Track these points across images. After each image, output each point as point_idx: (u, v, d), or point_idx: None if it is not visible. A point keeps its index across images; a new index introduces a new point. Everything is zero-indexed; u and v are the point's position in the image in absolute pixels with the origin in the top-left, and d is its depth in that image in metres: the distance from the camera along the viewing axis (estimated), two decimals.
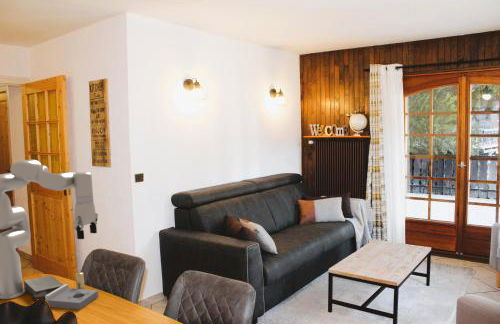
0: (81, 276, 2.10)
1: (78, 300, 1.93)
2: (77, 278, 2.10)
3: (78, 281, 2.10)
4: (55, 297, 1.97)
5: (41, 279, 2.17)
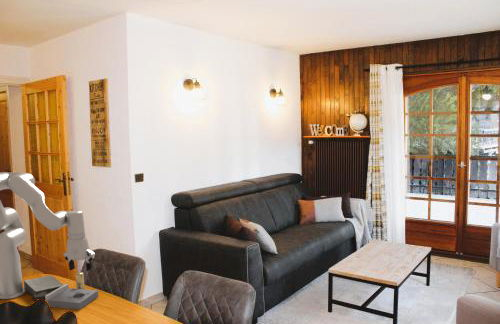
0: (81, 276, 2.10)
1: (78, 300, 1.93)
2: (77, 278, 2.10)
3: (78, 281, 2.10)
4: (55, 297, 1.97)
5: (41, 279, 2.17)
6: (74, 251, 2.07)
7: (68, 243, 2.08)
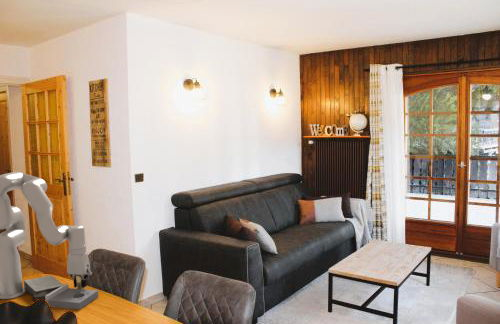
0: None
1: (78, 300, 1.93)
2: (77, 278, 2.10)
3: (78, 281, 2.10)
4: (55, 297, 1.97)
5: (41, 279, 2.17)
6: (74, 266, 2.08)
7: (69, 258, 2.09)
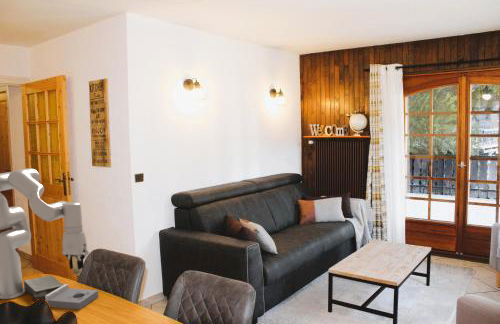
0: (77, 256, 1.96)
1: (78, 300, 1.93)
2: (73, 259, 1.95)
3: (74, 262, 1.95)
4: (55, 297, 1.97)
5: (41, 279, 2.17)
6: (70, 246, 1.94)
7: (64, 237, 1.94)
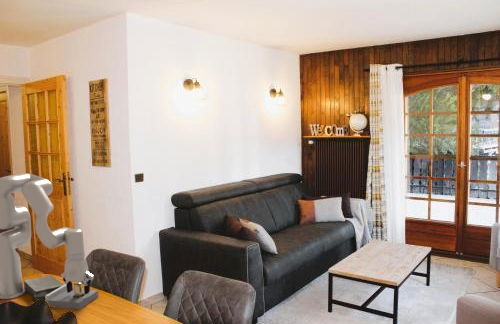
0: (79, 286, 1.97)
1: (78, 300, 1.93)
2: (75, 288, 1.97)
3: (76, 291, 1.97)
4: (55, 297, 1.97)
5: (41, 279, 2.17)
6: (72, 272, 1.95)
7: (66, 264, 1.95)
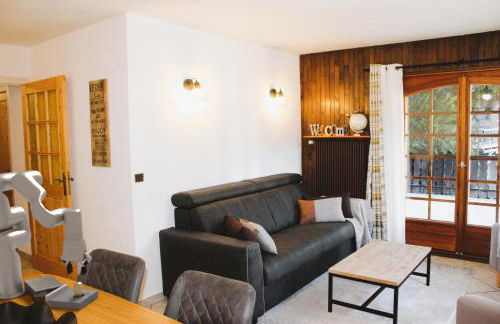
0: (79, 286, 1.97)
1: (78, 300, 1.93)
2: (75, 288, 1.97)
3: (76, 291, 1.97)
4: (55, 297, 1.97)
5: (41, 279, 2.17)
6: (71, 252, 1.94)
7: (64, 243, 1.94)
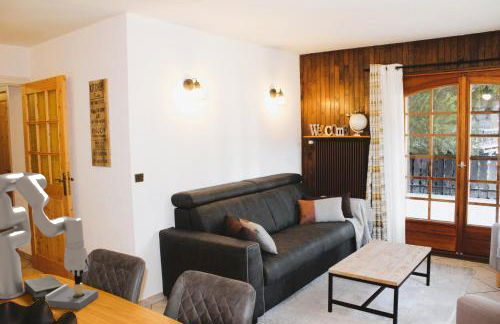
0: (80, 286, 1.97)
1: (78, 300, 1.93)
2: (76, 288, 1.97)
3: (77, 291, 1.97)
4: (55, 297, 1.97)
5: (41, 279, 2.17)
6: (72, 261, 1.94)
7: (66, 252, 1.95)
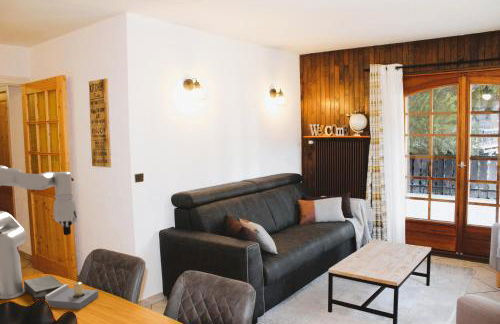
0: (80, 286, 1.97)
1: (78, 300, 1.93)
2: (75, 288, 1.97)
3: (76, 291, 1.97)
4: (55, 297, 1.97)
5: (41, 279, 2.17)
6: (61, 212, 2.05)
7: (55, 204, 2.05)
